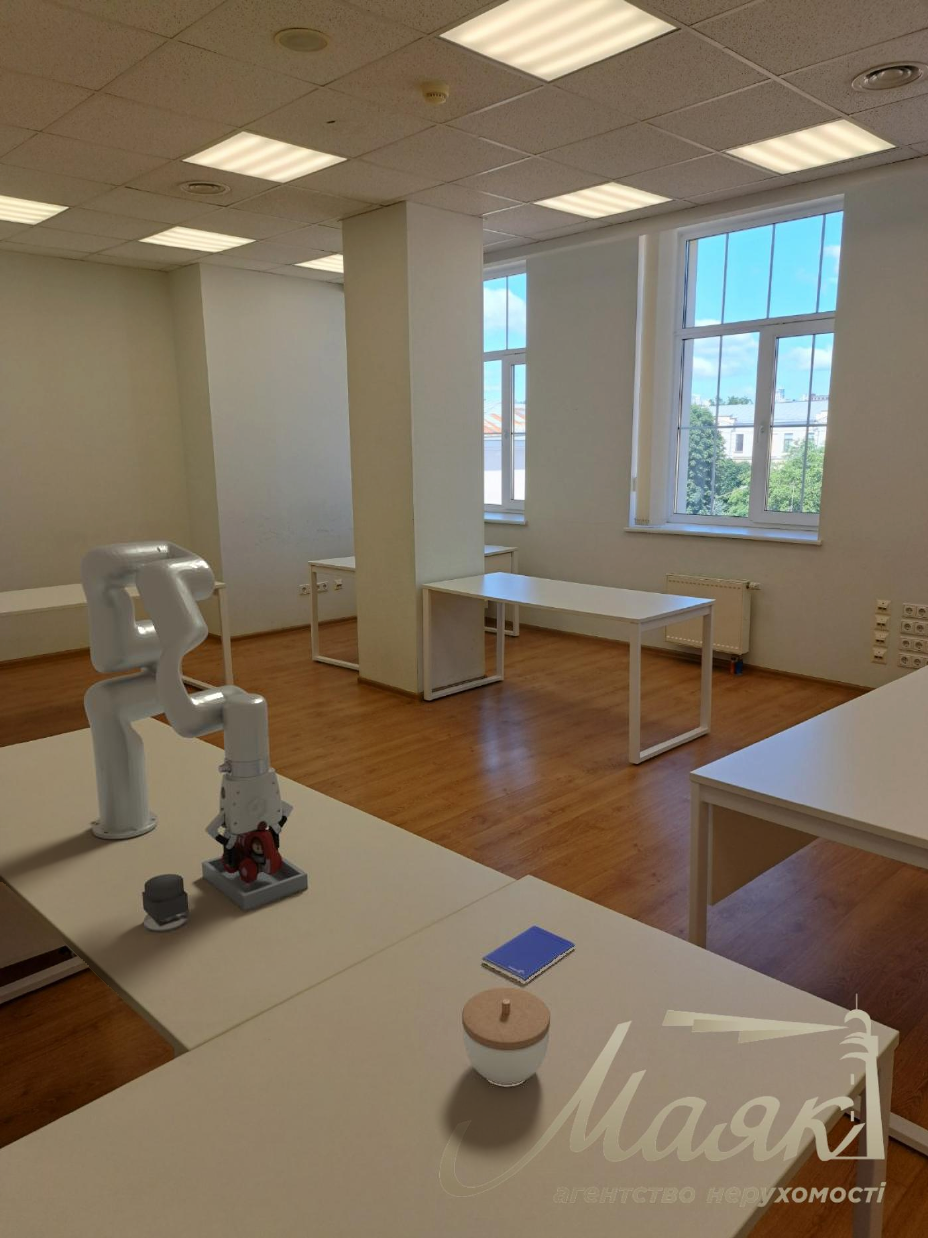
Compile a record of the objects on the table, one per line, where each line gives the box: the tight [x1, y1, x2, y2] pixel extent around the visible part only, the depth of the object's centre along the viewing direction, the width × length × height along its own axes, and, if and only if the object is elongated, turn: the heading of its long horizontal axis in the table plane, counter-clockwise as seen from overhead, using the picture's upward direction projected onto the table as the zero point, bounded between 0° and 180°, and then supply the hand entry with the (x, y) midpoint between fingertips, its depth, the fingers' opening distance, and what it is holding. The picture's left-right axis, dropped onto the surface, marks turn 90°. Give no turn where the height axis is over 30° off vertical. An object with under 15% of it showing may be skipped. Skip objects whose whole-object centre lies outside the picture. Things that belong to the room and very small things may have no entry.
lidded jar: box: [461, 987, 551, 1085], centre depth 104 cm, size 11×11×9 cm
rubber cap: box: [141, 873, 189, 922], centre depth 139 cm, size 6×6×5 cm
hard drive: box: [481, 925, 576, 981], centre depth 130 cm, size 2×8×12 cm
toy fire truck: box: [221, 821, 283, 883], centre depth 152 cm, size 7×12×10 cm, turn 49°
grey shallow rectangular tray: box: [201, 855, 309, 913], centre depth 153 cm, size 17×12×3 cm
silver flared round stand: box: [143, 911, 190, 933], centre depth 140 cm, size 7×7×5 cm
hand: (252, 859), depth 152 cm, fingers closed on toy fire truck, 7 cm apart
